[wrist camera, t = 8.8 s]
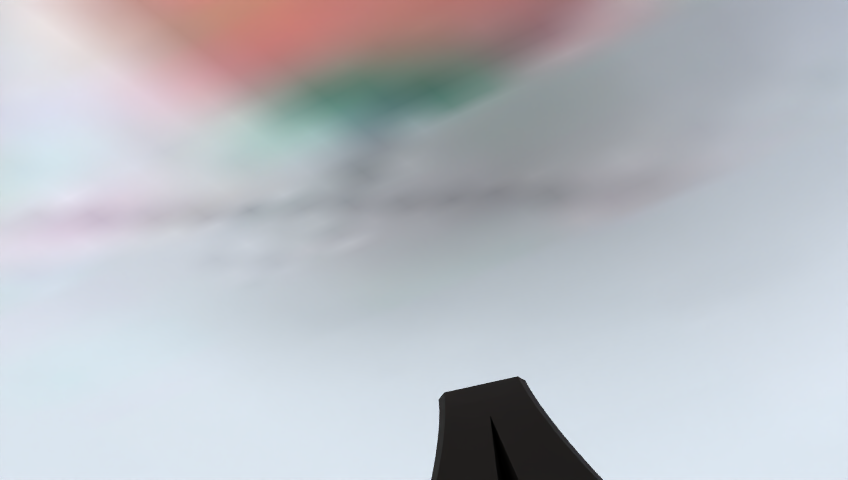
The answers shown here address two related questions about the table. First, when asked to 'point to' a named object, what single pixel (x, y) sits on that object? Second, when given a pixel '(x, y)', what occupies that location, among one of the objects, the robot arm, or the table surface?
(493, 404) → the robot arm
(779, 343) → the table surface
